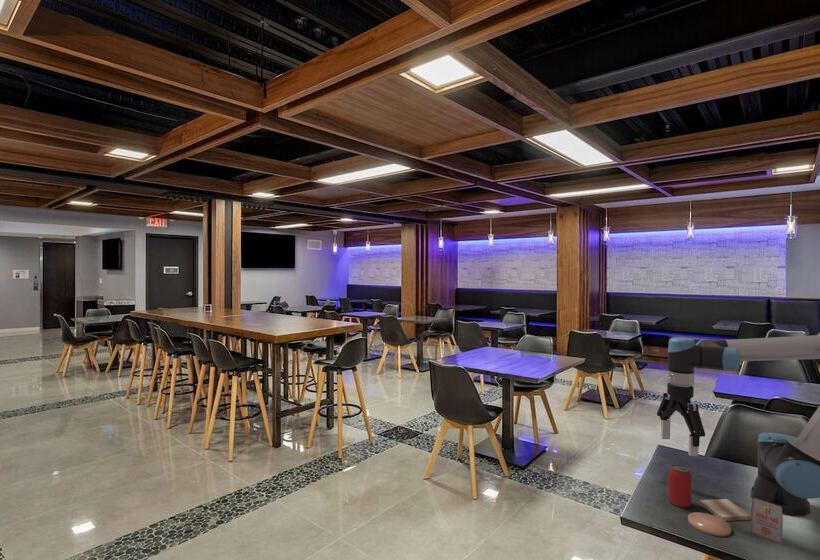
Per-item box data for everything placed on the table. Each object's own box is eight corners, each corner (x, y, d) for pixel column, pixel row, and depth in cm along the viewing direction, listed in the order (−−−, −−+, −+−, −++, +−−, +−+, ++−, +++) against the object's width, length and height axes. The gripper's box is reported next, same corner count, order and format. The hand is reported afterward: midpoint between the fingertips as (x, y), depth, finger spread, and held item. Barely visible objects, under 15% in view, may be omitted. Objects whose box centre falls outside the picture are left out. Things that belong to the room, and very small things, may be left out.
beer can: (694, 509, 141) (695, 473, 141) (672, 507, 143) (673, 471, 142) (686, 499, 148) (686, 464, 148) (665, 497, 149) (665, 462, 149)
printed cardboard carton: (753, 528, 131) (754, 495, 131) (782, 538, 126) (783, 504, 126) (750, 532, 129) (751, 499, 128) (780, 543, 123) (780, 509, 123)
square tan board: (726, 502, 145) (726, 498, 145) (752, 519, 135) (752, 515, 135) (698, 503, 145) (698, 500, 145) (722, 520, 135) (722, 517, 135)
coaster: (712, 514, 138) (712, 511, 138) (741, 535, 127) (741, 532, 127) (679, 516, 137) (679, 513, 137) (705, 537, 126) (705, 533, 126)
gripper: (646, 375, 157) (645, 432, 157) (696, 395, 132) (695, 463, 132) (666, 374, 157) (665, 432, 158) (720, 394, 132) (718, 463, 133)
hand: (678, 446), depth 145 cm, fingers open, 13 cm apart
